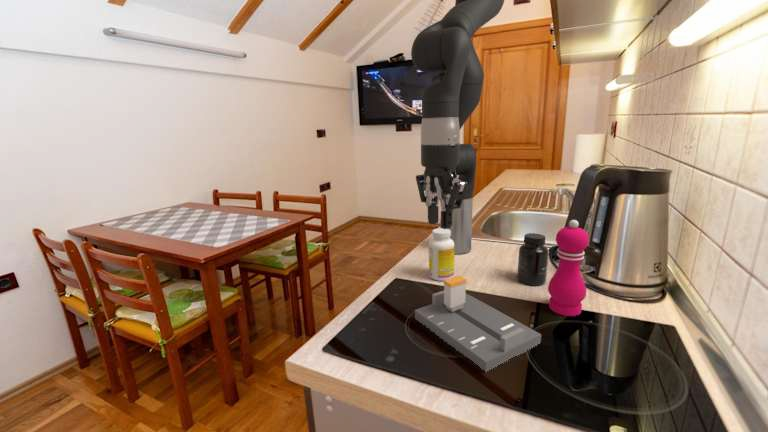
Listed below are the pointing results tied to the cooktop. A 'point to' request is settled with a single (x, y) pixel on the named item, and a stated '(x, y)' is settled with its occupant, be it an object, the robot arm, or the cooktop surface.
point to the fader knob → (454, 292)
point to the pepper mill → (569, 271)
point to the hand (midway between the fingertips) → (439, 225)
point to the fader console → (478, 331)
